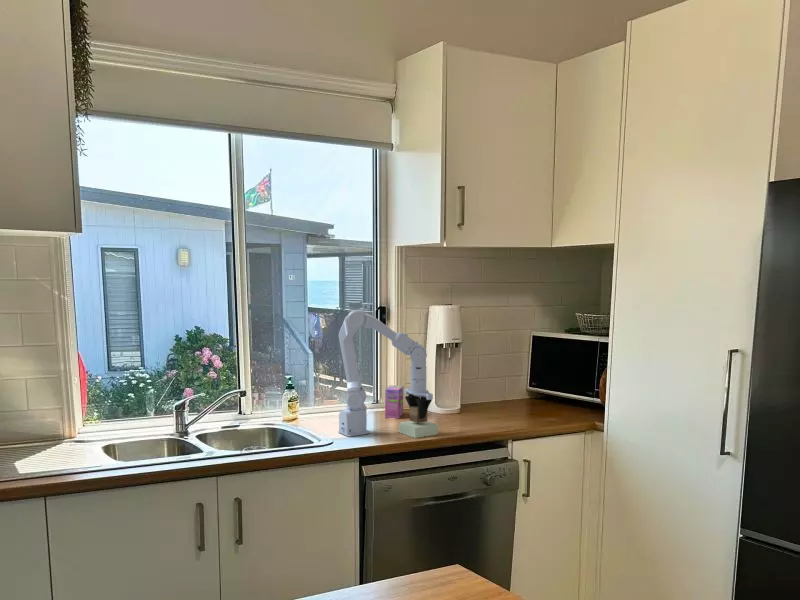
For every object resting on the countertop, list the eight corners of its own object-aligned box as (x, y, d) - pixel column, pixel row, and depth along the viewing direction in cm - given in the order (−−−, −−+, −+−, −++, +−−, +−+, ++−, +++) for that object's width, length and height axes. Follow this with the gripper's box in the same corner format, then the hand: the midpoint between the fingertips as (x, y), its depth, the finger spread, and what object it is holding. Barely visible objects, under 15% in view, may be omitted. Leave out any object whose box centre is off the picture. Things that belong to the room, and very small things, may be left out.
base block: (415, 438, 207) (415, 428, 207) (399, 432, 215) (399, 422, 215) (438, 434, 213) (438, 424, 213) (421, 428, 221) (421, 419, 221)
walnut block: (417, 422, 211) (417, 408, 211) (409, 420, 215) (409, 406, 215) (427, 421, 214) (427, 407, 213) (420, 419, 217) (420, 405, 217)
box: (398, 419, 238) (398, 389, 237) (384, 418, 239) (384, 389, 238) (403, 413, 248) (403, 385, 248) (390, 413, 249) (390, 384, 249)
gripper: (439, 380, 210) (439, 419, 210) (415, 375, 222) (415, 412, 222) (423, 382, 206) (423, 421, 206) (399, 377, 218) (399, 414, 218)
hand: (418, 416), depth 214 cm, fingers closed on walnut block, 4 cm apart
